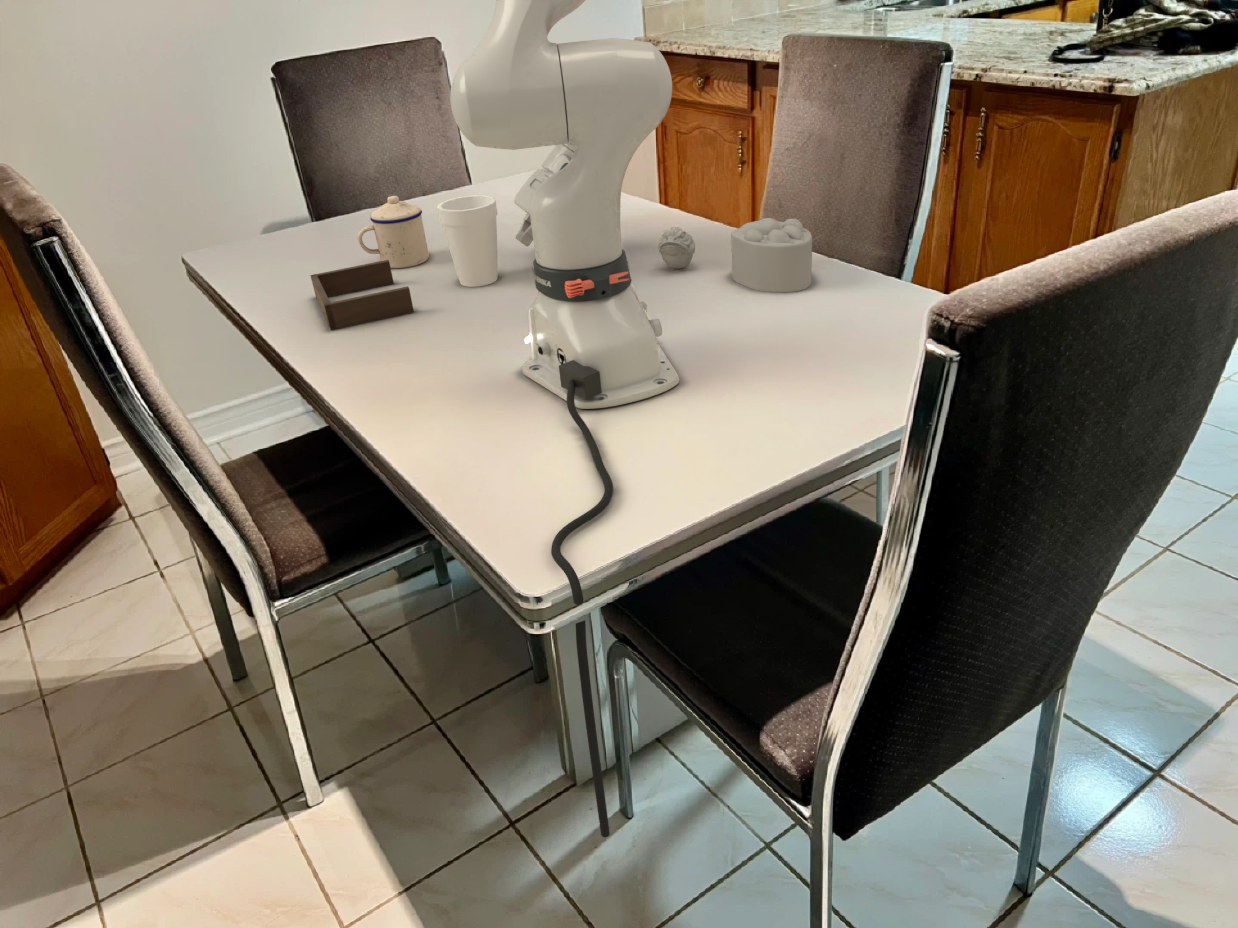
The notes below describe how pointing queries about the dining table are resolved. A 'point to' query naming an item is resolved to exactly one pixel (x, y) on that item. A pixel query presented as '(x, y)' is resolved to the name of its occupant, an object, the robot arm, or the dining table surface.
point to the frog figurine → (676, 247)
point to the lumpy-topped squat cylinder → (772, 255)
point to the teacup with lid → (398, 234)
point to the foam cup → (471, 237)
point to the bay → (362, 306)
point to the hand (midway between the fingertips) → (521, 242)
